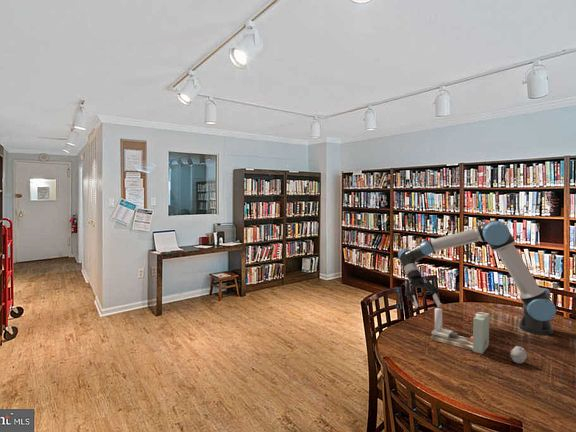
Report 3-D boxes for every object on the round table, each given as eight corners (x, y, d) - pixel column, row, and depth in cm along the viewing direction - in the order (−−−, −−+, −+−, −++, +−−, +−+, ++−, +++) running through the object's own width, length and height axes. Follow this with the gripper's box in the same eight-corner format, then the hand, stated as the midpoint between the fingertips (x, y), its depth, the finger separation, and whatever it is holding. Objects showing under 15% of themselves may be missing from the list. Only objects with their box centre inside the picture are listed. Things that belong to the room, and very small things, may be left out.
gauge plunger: (480, 343, 167) (480, 338, 167) (479, 344, 166) (479, 339, 166) (471, 340, 170) (471, 336, 170) (470, 342, 168) (470, 337, 168)
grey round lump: (529, 363, 151) (530, 347, 151) (522, 367, 147) (522, 351, 147) (514, 357, 156) (515, 342, 156) (506, 362, 153) (507, 346, 152)
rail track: (479, 343, 171) (479, 339, 171) (473, 350, 164) (473, 345, 164) (437, 333, 185) (437, 328, 185) (430, 339, 178) (430, 334, 177)
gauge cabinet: (489, 345, 169) (490, 311, 168) (483, 354, 160) (484, 318, 159) (478, 342, 172) (479, 309, 171) (471, 351, 164) (472, 315, 163)
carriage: (459, 334, 177) (459, 310, 176) (454, 339, 171) (454, 315, 170) (437, 329, 184) (437, 306, 183) (431, 334, 178) (431, 310, 178)
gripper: (429, 275, 206) (445, 307, 192) (390, 277, 201) (404, 311, 187) (434, 268, 200) (451, 301, 187) (395, 270, 195) (410, 304, 182)
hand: (428, 306), depth 187 cm, fingers open, 13 cm apart
